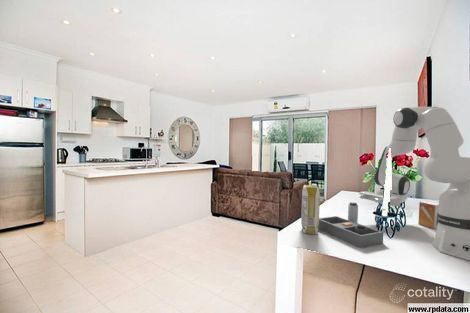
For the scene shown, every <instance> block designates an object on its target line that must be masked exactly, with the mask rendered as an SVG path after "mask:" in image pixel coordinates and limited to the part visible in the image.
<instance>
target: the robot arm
mask: <svg viewBox="0 0 470 313" xmlns="http://www.w3.org/2000/svg"><path fill="white" fill-rule="evenodd" d="M393 124H394V125H395V126H394V128H393V131H392V132H393V133H392V135H391V136H392V137H391V141H390V142H389V144H388V145H386V146H385V148H384V149H383V152H382V154H381V157H380V160H379V163H378V166H377V169H376V171H375V173H374V175H373V182H375V184H376V185H377V186H381V187H384V186H383V185H384V182H385V170H386V154H387V153H388V150H389V148H391V151H392V158H394V157H396V156H402V155H406V154H410V153H411V152H413V151H414V150H415V148H416V144H417V138H418V133H419V131H420V130H421V129H423V131H424V135H425V138H426V139H427V140H426V141H427V142H428V145H429V149H430V157H429V159H428V160H427V161H426V162H425V164H424V166H423V172H424V175H425V177H426V179H428V180H431V181H433V182H437V183H442V184H449V186H448V188H447V189H446V190H445V191H444V192H442V193H441V194H440V195H439V196H438V204H439V213H437V229H436V231H435V236H434V238H433V241H432V243H431V245H432V246H433V247H434V248H435V249H437V250H438V251H439V253H443V254H446V255H449V256H452V257H455V258H456V257H457V258H460V259H463V260H466V261H469V262H470V156H469V157H468V156H467V157H466V156H465V157H462V156H461V155H460V150H459V148H460V147H461V146H462V145H463V144H464V137H463V136H462V134H461V131H460V130H459V127H458V125H457V124H456V121H455V120H454V118H453V117H452V115H451V114H450V113H449V112H448V110H446V109H445V108H443V107H438V106H410V107H401V108H400V109H397V110H396V111H395V113H394V115H393ZM410 188H411V182H410V180H409V177H407V176H406V175H402V174H399V173H395V172H392V190H391V197H390V204H389V205H388V206H393V207H394V206H395V207H400V206H401V203H404V202H406V201H407V199H408V197H409V194H408V193H409V190H410ZM383 190H384V189H379V190H378V191H376V192H373V191H360V192H358V193H359V194H358V197H359V199H361V200H362V199H363V200H368V201H372V202H375V203H379V205H381V204H382V201H383Z"/></svg>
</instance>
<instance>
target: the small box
mask: <svg viewBox="0 0 470 313" xmlns="http://www.w3.org/2000/svg"><path fill="white" fill-rule="evenodd" d="M418 205H419V206H418V225H421V226H424V227H426V228H430V229H433V230H437V213H439V203H436V202H430V201H427V200H426V201H425V200H424V201H419V204H418Z"/></svg>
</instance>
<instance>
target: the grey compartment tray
mask: <svg viewBox="0 0 470 313" xmlns="http://www.w3.org/2000/svg"><path fill="white" fill-rule="evenodd" d="M357 225H363V224H361V223H359V222H358V223H355V222H352V221H349V220H348V219H346V218H343V217H340V216H337V215H335V216H327V217H319V229H318V230H320V231H322V232H325V233H326V234H328V235H331V236H333V237H335V238H337V239H340V240H342V241H343V242H346V243H348V244H351V245H353V246H355V247H358V248H360V249H362V248H367V247H372V246H376V245H377V244H378V245H382V244H384V231H382V230H378V229H375V228H373V227H369V226H366V225H363V226H365V227H366V228H367V234H364V235H359V234H357V233H355V227H356V226H357Z"/></svg>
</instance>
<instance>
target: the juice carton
mask: <svg viewBox="0 0 470 313" xmlns="http://www.w3.org/2000/svg"><path fill="white" fill-rule="evenodd" d="M320 197H321V193H320V188H319V187H318V184H316V183H311V185H309V184H304V185H303V186H302V191H301V216H300V217H301V218H300V220H301V221H300V222H301V228H302V232H303V234H308V235H318V234H319V230H320V229H319V218H320V204H321V202H320V200H321V198H320Z"/></svg>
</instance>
